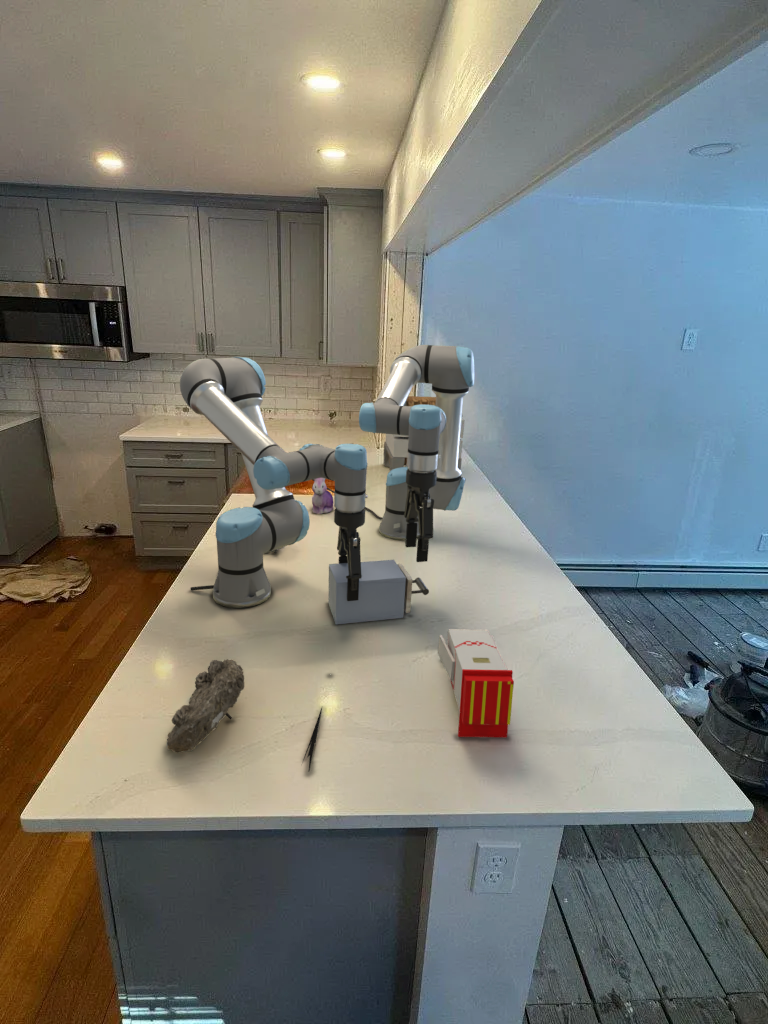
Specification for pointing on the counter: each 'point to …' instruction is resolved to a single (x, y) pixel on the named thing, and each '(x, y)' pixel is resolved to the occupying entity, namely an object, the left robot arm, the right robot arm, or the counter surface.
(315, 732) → the feather
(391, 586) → the cabinet
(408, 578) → the drawer
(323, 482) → the figurine
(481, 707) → the toy
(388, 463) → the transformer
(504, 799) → the counter surface
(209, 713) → the fossil
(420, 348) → the right robot arm
